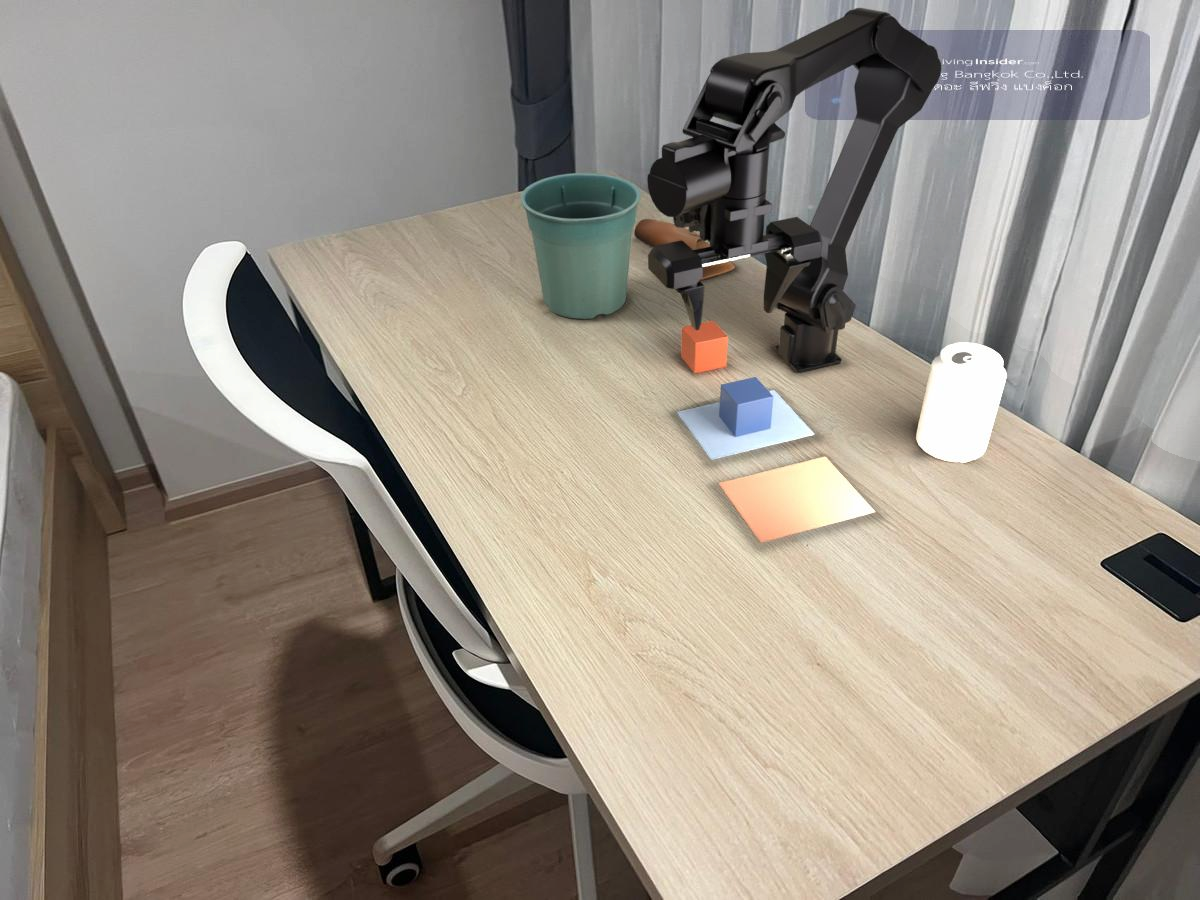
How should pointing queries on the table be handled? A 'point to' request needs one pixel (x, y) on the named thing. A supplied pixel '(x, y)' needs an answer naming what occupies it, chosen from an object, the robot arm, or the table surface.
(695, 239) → the sunglasses case
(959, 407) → the can
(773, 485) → the terracotta mat
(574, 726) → the table surface
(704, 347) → the terracotta block
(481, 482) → the table surface
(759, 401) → the blue block
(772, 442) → the blue mat
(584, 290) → the flower pot
